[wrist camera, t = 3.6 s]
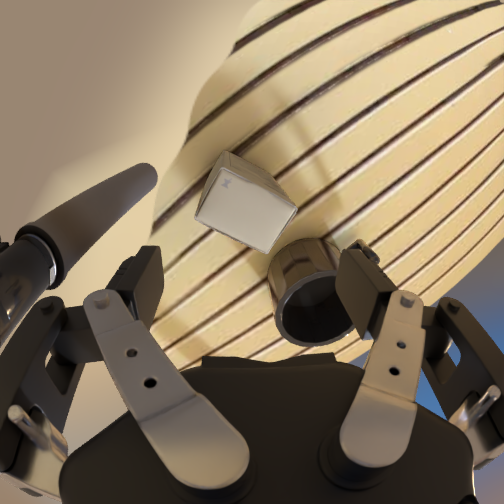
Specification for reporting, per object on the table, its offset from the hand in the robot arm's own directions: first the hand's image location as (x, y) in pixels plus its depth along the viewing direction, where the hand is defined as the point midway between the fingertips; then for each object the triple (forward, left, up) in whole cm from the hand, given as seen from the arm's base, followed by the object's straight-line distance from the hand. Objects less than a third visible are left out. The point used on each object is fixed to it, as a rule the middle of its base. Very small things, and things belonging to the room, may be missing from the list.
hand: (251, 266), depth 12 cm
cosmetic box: (0, 0, -20) cm, 20 cm away
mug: (+10, -11, -20) cm, 25 cm away
